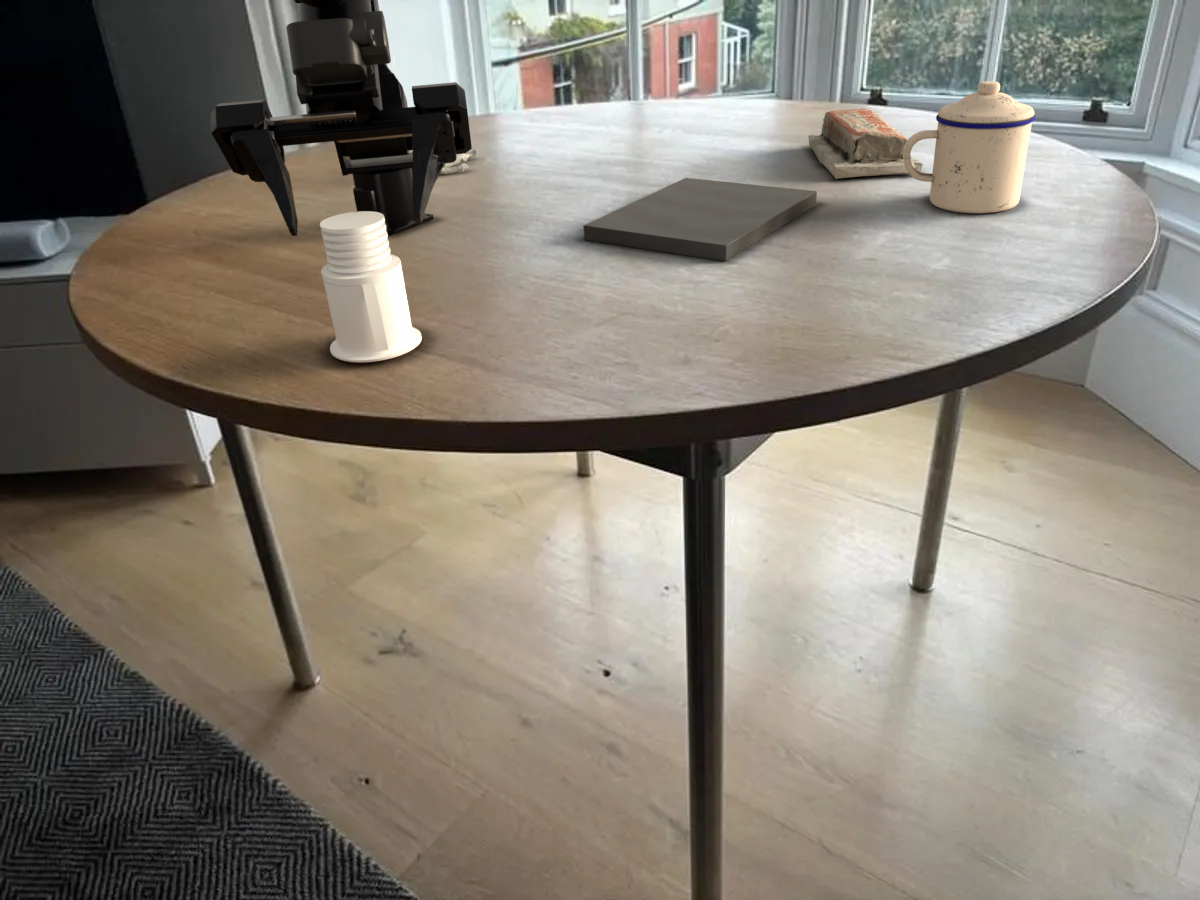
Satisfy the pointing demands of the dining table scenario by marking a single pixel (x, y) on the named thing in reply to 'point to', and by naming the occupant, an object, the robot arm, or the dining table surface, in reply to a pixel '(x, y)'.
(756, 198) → the slate board
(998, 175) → the teacup with lid
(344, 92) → the robot arm
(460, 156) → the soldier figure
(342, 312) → the downlight
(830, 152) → the packaged product
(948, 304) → the dining table surface
